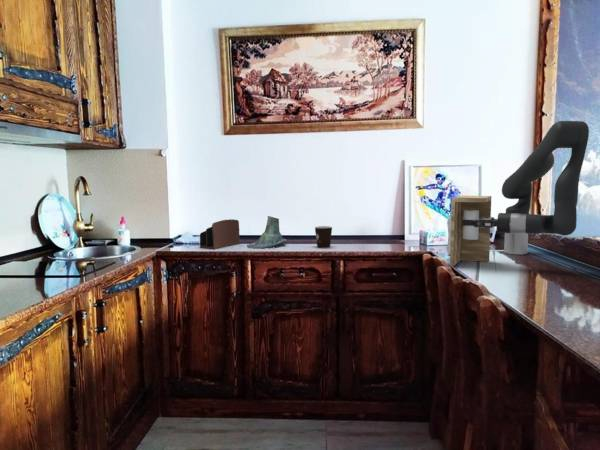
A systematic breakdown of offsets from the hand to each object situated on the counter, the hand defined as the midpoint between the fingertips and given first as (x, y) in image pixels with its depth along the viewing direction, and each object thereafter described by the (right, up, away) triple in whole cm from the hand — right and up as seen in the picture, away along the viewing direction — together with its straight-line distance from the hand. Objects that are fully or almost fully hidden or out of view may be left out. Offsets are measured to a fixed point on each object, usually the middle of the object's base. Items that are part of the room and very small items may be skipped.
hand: (464, 221), depth 168 cm
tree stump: (-81, -12, +56) cm, 99 cm away
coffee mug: (-52, -12, +50) cm, 73 cm away
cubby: (+3, -17, +2) cm, 17 cm away
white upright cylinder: (+2, -7, 0) cm, 7 cm away
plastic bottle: (+4, -15, +21) cm, 26 cm away
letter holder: (-106, -13, +57) cm, 121 cm away
